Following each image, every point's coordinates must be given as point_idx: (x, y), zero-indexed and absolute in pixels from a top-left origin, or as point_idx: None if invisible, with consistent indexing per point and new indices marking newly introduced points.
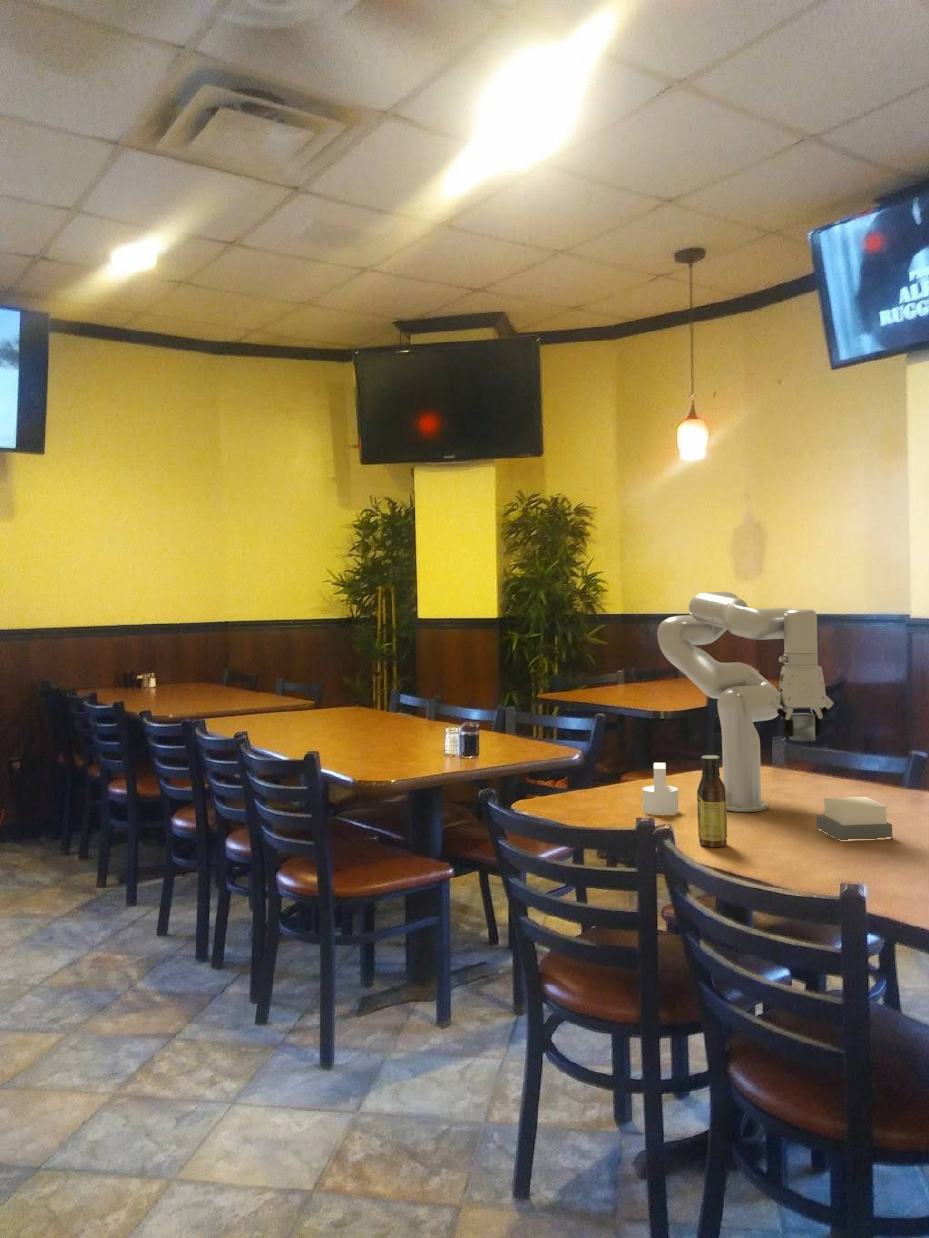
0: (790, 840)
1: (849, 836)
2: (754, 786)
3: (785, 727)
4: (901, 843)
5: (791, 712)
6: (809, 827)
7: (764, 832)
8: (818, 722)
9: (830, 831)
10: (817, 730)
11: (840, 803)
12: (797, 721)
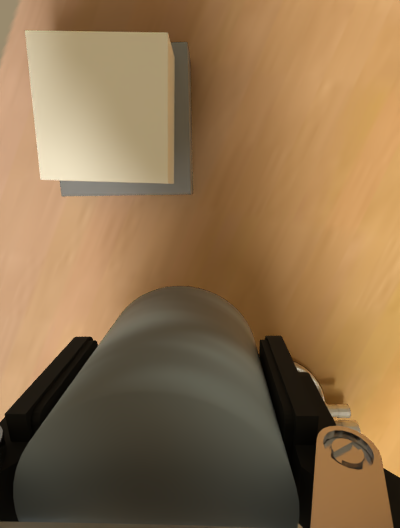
0: (299, 91)
1: None
2: None
3: (317, 397)
4: (54, 21)
5: (324, 506)
6: (202, 210)
7: (323, 179)
8: (33, 392)
9: (190, 113)
10: (76, 352)
11: (149, 97)
12: (246, 383)
